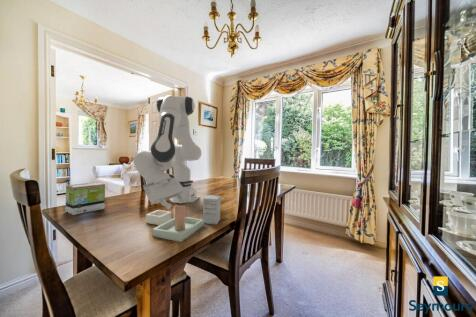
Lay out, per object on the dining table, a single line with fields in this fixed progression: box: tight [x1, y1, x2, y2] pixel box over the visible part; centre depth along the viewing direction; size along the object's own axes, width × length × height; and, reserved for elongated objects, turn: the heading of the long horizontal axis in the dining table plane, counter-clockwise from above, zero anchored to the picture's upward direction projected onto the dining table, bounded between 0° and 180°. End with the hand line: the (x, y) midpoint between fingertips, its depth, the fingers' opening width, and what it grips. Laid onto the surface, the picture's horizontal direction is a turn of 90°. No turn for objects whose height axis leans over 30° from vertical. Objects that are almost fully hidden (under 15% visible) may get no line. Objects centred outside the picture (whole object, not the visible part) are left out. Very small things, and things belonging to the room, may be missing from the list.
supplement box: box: [202, 194, 222, 225], centre depth 101 cm, size 7×7×13 cm
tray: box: [152, 216, 205, 243], centre depth 88 cm, size 18×14×3 cm
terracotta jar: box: [174, 204, 186, 231], centre depth 88 cm, size 4×4×10 cm
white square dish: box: [145, 209, 172, 226], centre depth 99 cm, size 8×8×4 cm
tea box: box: [64, 181, 106, 216], centre depth 111 cm, size 15×10×15 cm, turn 151°
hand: (176, 205), depth 89 cm, fingers open, 8 cm apart
